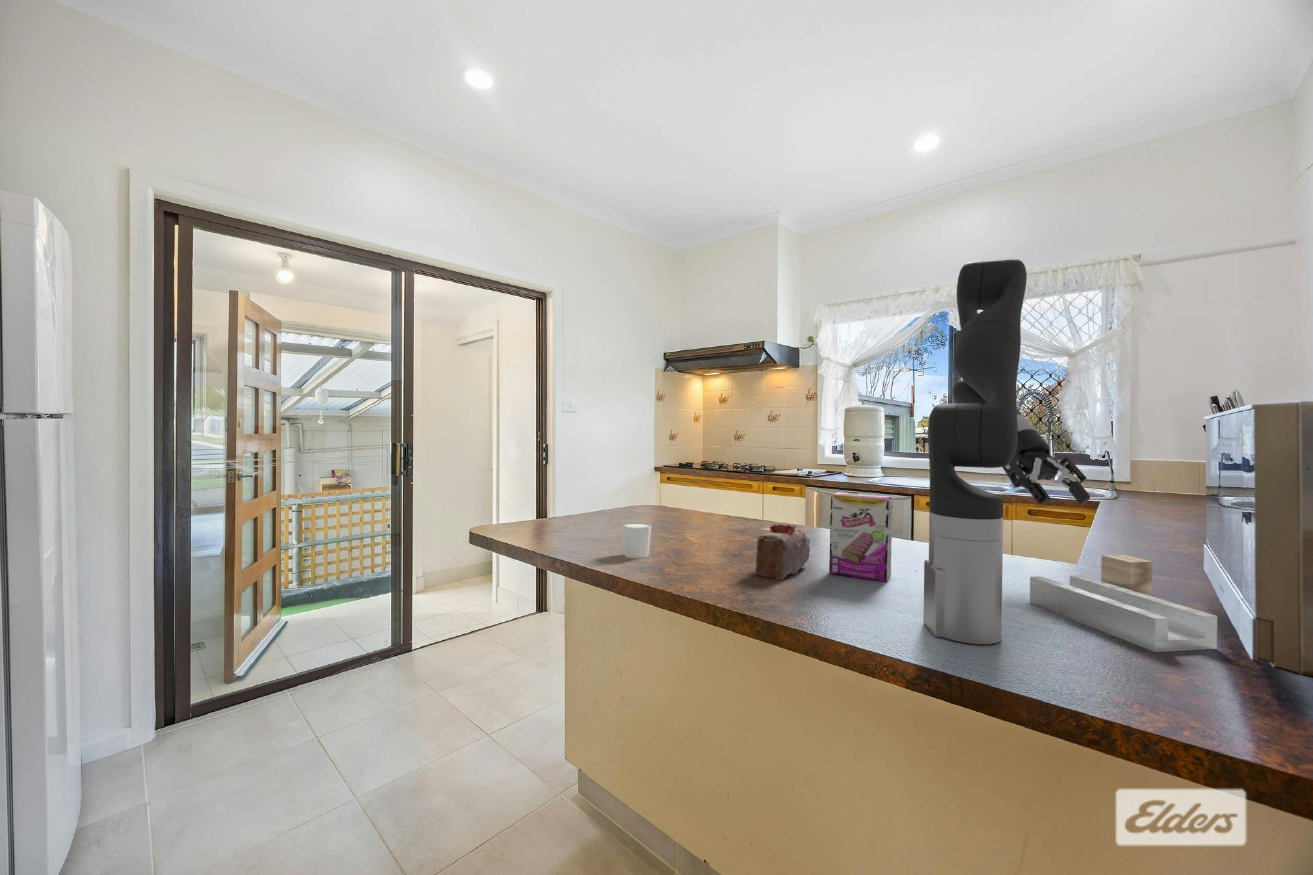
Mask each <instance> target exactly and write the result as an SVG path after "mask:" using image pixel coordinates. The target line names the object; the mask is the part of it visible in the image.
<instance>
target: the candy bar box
mask: <svg viewBox="0 0 1313 875" xmlns="http://www.w3.org/2000/svg"><path fill="white" fill-rule="evenodd" d="M893 499H894V498H893V496H890V495H889V496H888V495H876V494H865V493H851V492H842V491H841V492H840V491H836V492H834V493H831V495H830V522H829V523H830V524H829V526H830V528H829V530H830V531H829V560H828V561H829V562H828V563H829V564H828V567H829V568H828V569H829V571H828V572H829V574H831V575H832V574H833V575H839V576H843V577H844V576H845V577H849V578H857V579H863V580H869V581H876V582H881V583H882V582H883V583H887V582H888V581H889V579H891V576H892V542H893V540H892V537H893V506H894V505H893V504H894V503H893V502H894V500H893Z"/></svg>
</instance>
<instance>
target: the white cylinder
mask: <svg viewBox="0 0 1313 875" xmlns="http://www.w3.org/2000/svg"><path fill="white" fill-rule="evenodd" d="M621 530H622V541H623V542H622V543H623V544H622V545H623V554H624V556H623V557H625V556H626V557H625V558H628V559H645V558H648V557H649V554H650V546H651V545H650V544H651V535H652V534H651V533H652V525H651V524H649V523H643V522H642V523H641V522H632V523H626V524H623V525H622V526H621ZM647 556H648V557H647Z"/></svg>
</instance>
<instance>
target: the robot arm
mask: <svg viewBox="0 0 1313 875" xmlns="http://www.w3.org/2000/svg"><path fill="white" fill-rule="evenodd" d="M1027 278H1028V275H1027V268H1026V265H1025V263H1024V262H1023V261H1021V260H1020V259H1017V258H1002V259H1001V258H1000V259H990V260H989V259H988V260H975V261H971V262H970V261H969V262H966V263H964V264H963V265H962V266H961V268H960V270H959V274H958V277H957V285H956V304H957V313H958V320H959V326H960V330H959V333H958V335H957V337H956V342H955V347H954V353H953V367H954V369H955V371H956V373H957V374H958V376H959V377H960V378H961V379H960V380H958V381H956V382H955V384H954V385H953V387H952V396H953V398H954V400H955V402H957V403H943V404H942V403H941V404H940V403H939V404H937V405H935V406H934V407H933V408H932V409H931V412H930V414H929V418H928V424H927V425H928V426H927V443H928V459H929V460H928V461H929V507H928V510H929V511H928V512H929V513H928V514H929V515H928V516H929V519H928V520H929V521H928V526H929V527H928V559H925V560H924V564H923V570H924V571H923V621H922V622H923V623H924V624H925V625H926V628H927V629H928V630H929V631H930V632H931V633H932V635H933V636H934V637H936V638H944V639H947V640H951V641H956V642H960V643H966V644H971V645H992V644H997V643H999V642H1000V641H1001V640H1002V630H1003V629H1002V628H1003V622H1002V620H1003V619H1002V614H1003V613H1002V611H1003V608H1002V606H1003V603H1002V602H1003V560H1004V559H1003V556H1004V551H1003V550H1004V549H1003V548H1004V508H1005V507H1004V501H1003V499H1002V498H1001V497H1000V496H999V495H997V494H995V493H993V492H991V491H987V490H985V489H984V490H983V489H981V488H979V487H976V486H974V485H972V484H971V483H969V482H967V481H966V480H964V479H963V478H961V477H960V476H959V475H958V474H957V472H956V469H955V467H956V468H959V467H960V468H961V467H962V468H980V469H981V468H984V469H987V468H988V469H997V468H1001V469H1003V471H1004V473H1005V474H1006V475H1007V477H1008V479H1009V480H1010V482H1011V483H1012V485H1013V486H1014V487H1015V488H1020V487H1023V489H1025V490H1027V491H1028V492H1029V493H1030V495H1031V496H1032V497H1033V499H1034V500H1035V501H1036V502H1038V504H1039V505H1046V504H1047V503H1048V502H1049V501H1050V499H1051V498H1050V496H1049V494H1048V492H1047V491H1046V490H1045V489H1044V487H1043V485H1041V483H1040V482H1038V481H1041V480H1045V481H1046V480H1047V481H1051V482H1052V483H1054V484H1057V485H1058V484H1059V485H1061V486H1063V487H1065V488H1067V490H1068V491H1069V493H1070V494H1071V495H1072V497H1074V499H1075V500H1076V502H1077V503H1078V504H1079V505H1080V504H1083V505H1084V504H1086V503H1087V502H1089V501H1090V499H1091V496H1090V494H1089V493H1088V491H1087V490H1086V489H1085V488H1084V486H1083V485H1082V483H1084V482H1085V481H1086V480H1087V476H1086V475H1085V474H1084V473H1083V472H1082V471H1081V470H1080V468H1079V467H1078V466H1076V464H1075V463H1074V462H1073V461H1072V460H1071V459H1070V458H1069V457H1068V456H1064V457H1063V458H1062V459H1056V458H1054V457H1053V456H1052V454H1051V452H1050V451H1051V447H1050V445H1049V444H1048V443H1047V442H1046V440H1045V439H1044V438H1043V436H1041V433H1039V432H1038V430H1037V429H1036V428H1035V427H1034V425H1033V424H1032V423H1031V422H1030V421H1029V420H1028V419H1026V418H1025V416H1024V415H1023V414H1022V413H1021V412H1020V410H1019V409H1018V404H1017V400H1018V399H1017V381H1018V371H1019V363H1020V358H1021V357H1020V356H1021V347H1022V345H1021V343H1022V340H1021V337H1022V336H1021V328H1022V327H1021V325H1022V324H1021V322H1022V320H1021V319H1022V318H1021V317H1022V310H1023V304H1024V300H1025V293H1026V287H1027V280H1028V279H1027ZM978 311H980V312H978ZM1059 472H1060V475H1058V473H1059ZM1057 475H1058V476H1057ZM1017 477H1018V478H1017ZM1065 478H1066V479H1067V480H1066V479H1065Z"/></svg>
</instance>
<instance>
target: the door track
mask: <svg viewBox="0 0 1313 875" xmlns="http://www.w3.org/2000/svg"><path fill="white" fill-rule="evenodd" d="M1029 604H1032V605H1034V606H1037V607H1039V606H1041V607H1040V608H1042V609H1044V608H1045V610H1047V611H1049V610H1050V612H1052V613H1055V614H1057V615H1060V616H1061V617H1064V618H1068V619H1069V620H1072V621H1074V622H1077V623H1080V624H1083V625H1085V626H1087V627H1090V628H1093V629H1095V630H1098V631H1100V632H1103V633H1104V634H1105V633H1106V634H1108V635H1110V636H1112V637H1115V638H1118V639H1121V640H1122V641H1125V642H1128V643H1131V644H1133V645H1135V646H1138V647H1140V648H1144V649H1145V650H1148V651H1151V652H1153V653H1165V652H1184V651H1204V650H1205V651H1206V650H1207V649H1208V650H1217V648H1218V646H1217V645H1218V644H1217V643H1218V615H1215V614H1211V613H1208V612H1206V611H1202V610H1198V609H1195V608H1192V607H1188V606H1185V605H1183V604H1178V603H1175V602H1171V601H1169V600H1165V599H1162V598H1158V597H1155V596H1149V595H1145V594H1142V593H1138V592H1135V591H1132V590H1128V589H1125V588H1122V587H1118V586H1115V585H1112V584H1108V583H1105V582H1101V580H1097V579H1094V578H1091V577H1088V576H1085V575H1080V574H1078V575H1077V574H1076V575H1075V574H1073V575H1071V574H1070V575H1069V585H1068V584H1065V583H1062V582H1060V581H1056V580H1054V579H1050V578H1047V577H1044V576H1041V575H1037V576H1029ZM1208 650H1207V651H1208Z"/></svg>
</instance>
